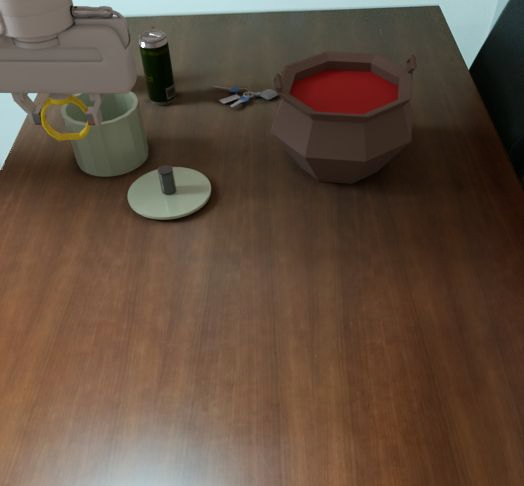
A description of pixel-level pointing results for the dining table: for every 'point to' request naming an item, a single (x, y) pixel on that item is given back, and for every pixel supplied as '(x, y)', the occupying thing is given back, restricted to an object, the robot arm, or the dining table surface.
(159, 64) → the beer can
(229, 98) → the key chain
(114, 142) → the pot
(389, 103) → the brown cauldron
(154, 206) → the lid
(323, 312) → the dining table surface
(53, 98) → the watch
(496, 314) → the dining table surface
